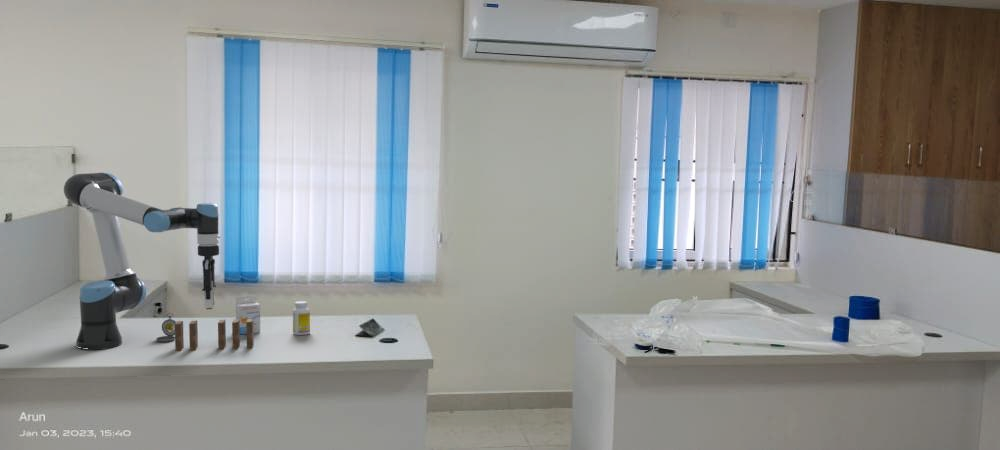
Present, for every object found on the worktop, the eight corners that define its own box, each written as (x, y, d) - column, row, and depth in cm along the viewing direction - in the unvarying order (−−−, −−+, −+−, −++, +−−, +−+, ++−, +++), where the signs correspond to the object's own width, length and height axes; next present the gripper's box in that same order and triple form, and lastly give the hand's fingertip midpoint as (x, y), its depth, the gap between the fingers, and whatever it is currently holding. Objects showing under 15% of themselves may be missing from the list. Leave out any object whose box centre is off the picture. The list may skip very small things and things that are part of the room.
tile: (206, 309, 294) (205, 283, 293) (207, 306, 299) (207, 280, 298) (211, 309, 295) (211, 282, 294) (213, 306, 300) (212, 280, 299)
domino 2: (189, 350, 289) (189, 323, 288) (192, 346, 294) (191, 320, 293) (195, 350, 290) (194, 323, 289) (197, 346, 295) (197, 320, 294)
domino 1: (175, 350, 288) (174, 324, 287) (178, 347, 293) (177, 321, 292) (181, 350, 289) (180, 323, 288) (183, 347, 294) (183, 320, 293)
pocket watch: (157, 343, 299) (156, 317, 298) (155, 338, 306) (154, 313, 305) (180, 341, 302) (179, 315, 301) (178, 336, 310) (177, 311, 309)
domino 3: (218, 349, 291) (217, 322, 290) (220, 345, 296) (219, 319, 295) (224, 349, 292) (223, 322, 291) (225, 345, 297) (225, 319, 296)
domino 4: (232, 348, 292) (232, 322, 291) (234, 345, 297) (233, 319, 296) (238, 348, 293) (237, 322, 292) (239, 345, 298) (239, 319, 297)
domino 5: (246, 348, 293) (246, 322, 292) (248, 345, 298) (247, 319, 297) (252, 348, 294) (251, 321, 293) (253, 344, 299) (253, 318, 298)
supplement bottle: (313, 332, 319) (313, 301, 318) (302, 336, 313) (302, 304, 312) (300, 331, 322) (299, 300, 320) (289, 334, 316) (289, 302, 314)
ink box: (239, 335, 313) (238, 298, 312) (236, 332, 318) (235, 296, 316) (260, 332, 318) (260, 296, 317) (257, 330, 322) (256, 294, 321)
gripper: (215, 247, 287) (217, 310, 289) (221, 241, 304) (222, 301, 306) (194, 248, 285) (195, 311, 287) (201, 241, 302) (202, 301, 305)
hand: (209, 305), depth 297 cm, fingers closed on tile, 5 cm apart
